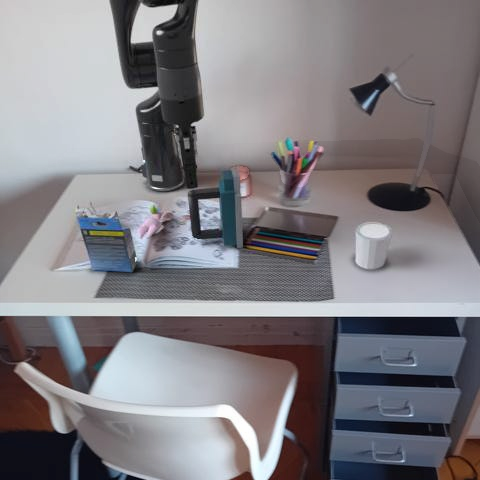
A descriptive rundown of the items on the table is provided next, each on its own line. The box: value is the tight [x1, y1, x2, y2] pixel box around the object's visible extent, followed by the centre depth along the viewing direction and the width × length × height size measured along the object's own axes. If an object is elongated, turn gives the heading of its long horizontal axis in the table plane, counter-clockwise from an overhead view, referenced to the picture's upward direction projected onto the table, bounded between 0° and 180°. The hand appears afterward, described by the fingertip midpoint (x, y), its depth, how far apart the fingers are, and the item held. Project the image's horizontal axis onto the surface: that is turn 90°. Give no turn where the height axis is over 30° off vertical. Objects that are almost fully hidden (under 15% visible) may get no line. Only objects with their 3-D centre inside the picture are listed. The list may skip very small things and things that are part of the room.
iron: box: [187, 166, 244, 249], centre depth 103 cm, size 15×7×10 cm
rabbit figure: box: [137, 204, 165, 240], centre depth 111 cm, size 6×6×15 cm
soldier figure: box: [74, 200, 119, 219], centre depth 117 cm, size 8×5×12 cm
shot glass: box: [355, 221, 393, 270], centre depth 97 cm, size 7×7×7 cm
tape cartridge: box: [76, 216, 139, 273], centre depth 99 cm, size 9×4×12 cm, turn 79°
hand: (191, 178), depth 98 cm, fingers open, 8 cm apart
